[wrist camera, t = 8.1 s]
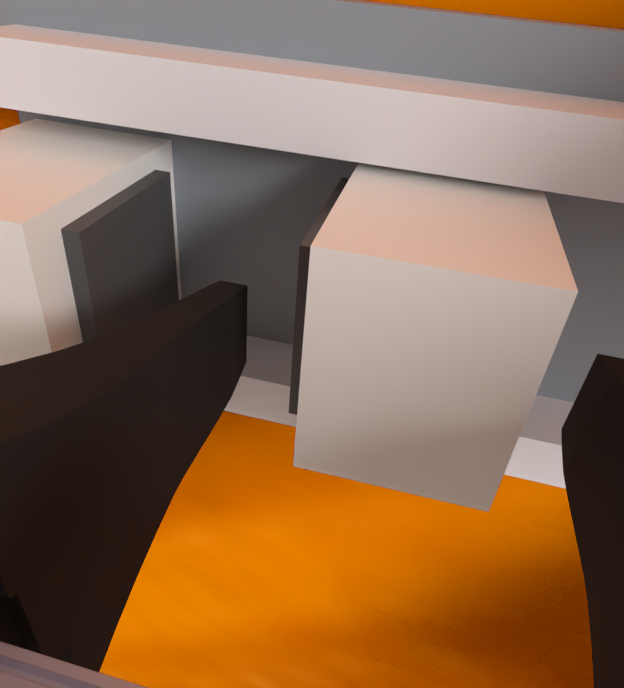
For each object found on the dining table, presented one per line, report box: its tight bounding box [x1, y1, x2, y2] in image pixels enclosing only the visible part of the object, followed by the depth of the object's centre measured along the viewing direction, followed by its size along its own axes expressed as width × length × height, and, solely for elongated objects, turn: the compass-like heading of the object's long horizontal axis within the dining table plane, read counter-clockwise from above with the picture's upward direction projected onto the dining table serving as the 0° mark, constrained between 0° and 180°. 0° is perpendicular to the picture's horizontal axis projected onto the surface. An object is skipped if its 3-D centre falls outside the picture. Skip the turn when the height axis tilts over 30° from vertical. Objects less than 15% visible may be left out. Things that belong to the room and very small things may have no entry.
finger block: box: [289, 163, 578, 512], centre depth 12 cm, size 4×5×6 cm
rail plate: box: [0, 0, 624, 489], centre depth 13 cm, size 18×12×7 cm, turn 86°
